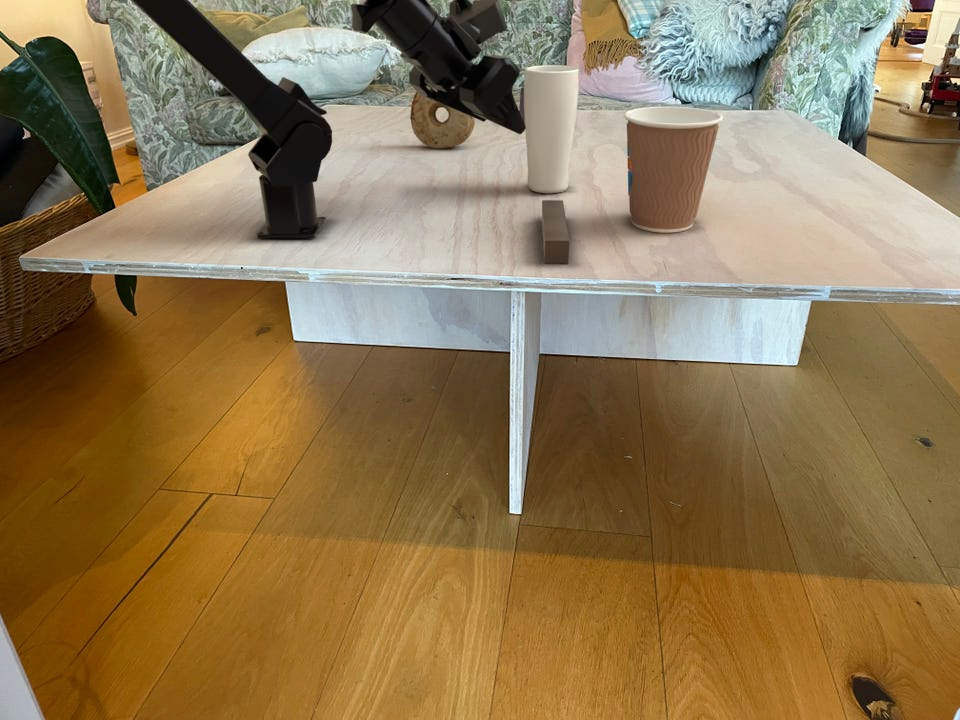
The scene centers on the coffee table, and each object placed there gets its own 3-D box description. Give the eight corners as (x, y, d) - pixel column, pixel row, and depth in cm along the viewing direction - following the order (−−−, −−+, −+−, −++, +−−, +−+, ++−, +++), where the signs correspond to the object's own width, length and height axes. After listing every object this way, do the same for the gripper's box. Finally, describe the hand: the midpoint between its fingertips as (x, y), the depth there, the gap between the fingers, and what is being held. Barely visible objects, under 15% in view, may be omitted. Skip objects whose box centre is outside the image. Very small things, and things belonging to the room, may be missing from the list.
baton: (568, 263, 74) (569, 240, 73) (544, 263, 74) (545, 240, 73) (562, 220, 86) (563, 200, 85) (541, 220, 86) (542, 200, 85)
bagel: (408, 149, 120) (404, 84, 115) (415, 144, 123) (412, 80, 118) (470, 151, 118) (469, 85, 113) (476, 146, 121) (475, 82, 116)
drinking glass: (561, 199, 94) (567, 73, 86) (513, 192, 96) (514, 70, 89) (581, 186, 99) (587, 66, 92) (535, 180, 102) (537, 63, 95)
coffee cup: (643, 205, 91) (652, 103, 85) (723, 220, 85) (739, 112, 79) (599, 226, 84) (606, 116, 78) (683, 244, 78) (697, 127, 72)
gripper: (504, -29, 74) (589, 81, 83) (428, -29, 88) (507, 64, 98) (435, 61, 74) (527, 159, 84) (370, 46, 89) (455, 131, 98)
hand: (504, 124), depth 91 cm, fingers open, 9 cm apart
